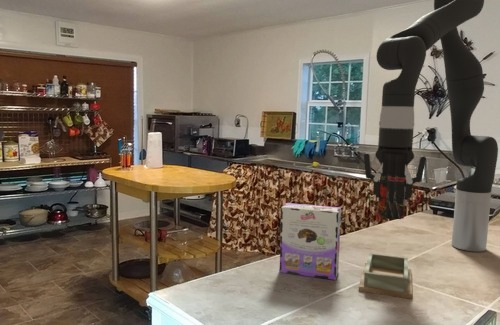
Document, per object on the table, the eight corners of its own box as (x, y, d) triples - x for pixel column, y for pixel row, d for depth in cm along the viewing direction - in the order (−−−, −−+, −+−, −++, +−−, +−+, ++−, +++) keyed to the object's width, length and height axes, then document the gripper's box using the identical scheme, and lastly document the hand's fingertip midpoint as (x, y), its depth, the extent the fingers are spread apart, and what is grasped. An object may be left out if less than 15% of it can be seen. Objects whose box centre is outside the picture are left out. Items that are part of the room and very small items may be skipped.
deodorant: (405, 220, 98) (410, 154, 96) (378, 218, 99) (382, 153, 97) (402, 214, 103) (406, 152, 102) (376, 212, 105) (380, 151, 103)
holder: (364, 266, 109) (365, 251, 109) (410, 273, 106) (411, 257, 105) (358, 290, 94) (359, 273, 94) (411, 299, 91) (413, 280, 90)
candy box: (338, 272, 105) (342, 206, 103) (335, 281, 100) (339, 211, 98) (284, 264, 110) (286, 201, 108) (278, 272, 104) (280, 206, 102)
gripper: (429, 127, 100) (424, 198, 102) (365, 125, 105) (361, 193, 107) (431, 128, 93) (425, 204, 95) (362, 126, 98) (358, 198, 100)
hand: (391, 198), depth 101 cm, fingers closed on deodorant, 6 cm apart
